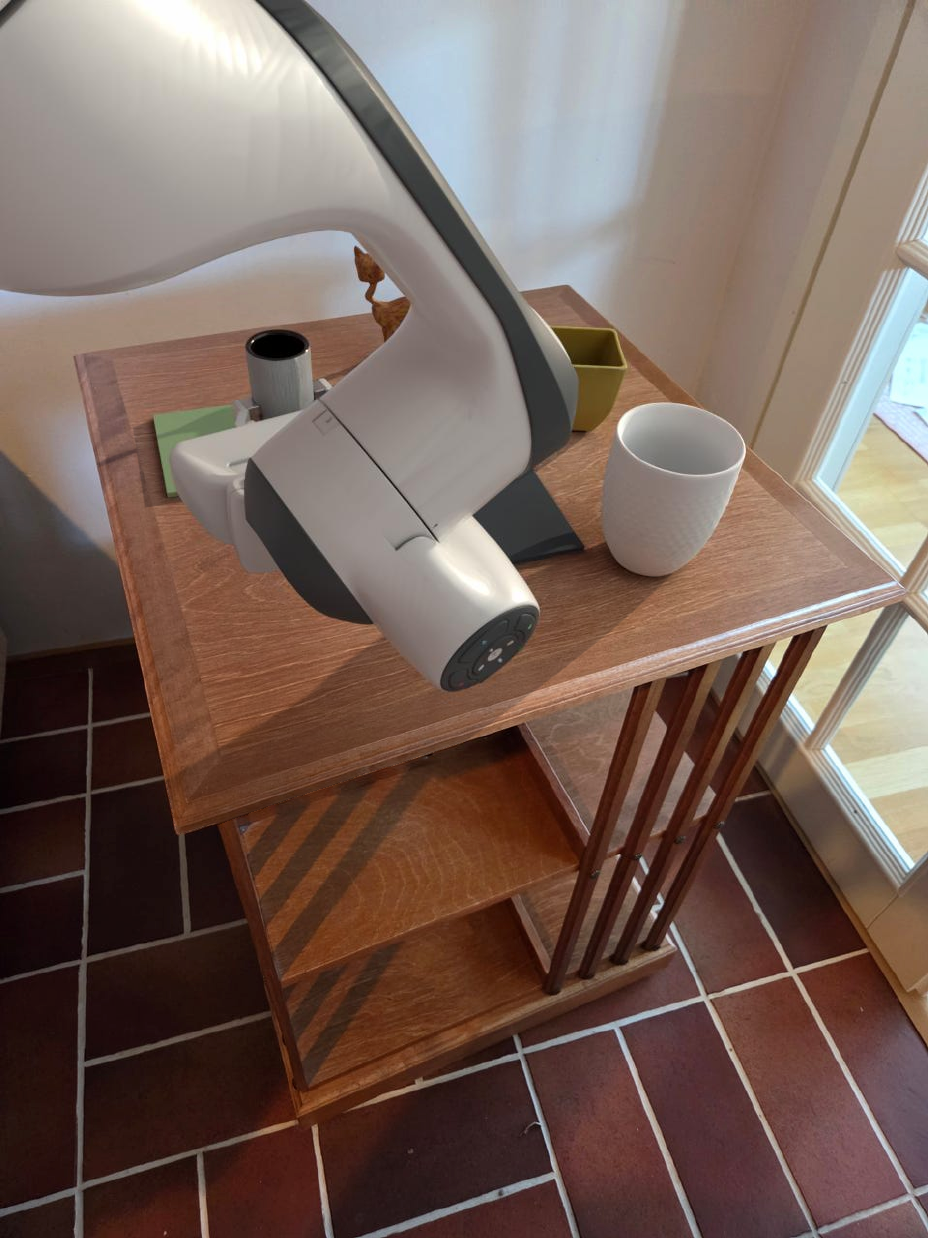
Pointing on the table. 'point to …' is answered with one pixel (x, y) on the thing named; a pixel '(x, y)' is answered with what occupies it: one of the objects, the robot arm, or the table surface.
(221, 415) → the sage mat
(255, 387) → the planter
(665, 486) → the mug
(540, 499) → the slate mat
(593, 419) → the flower pot
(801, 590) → the table surface
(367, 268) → the cat figurine
